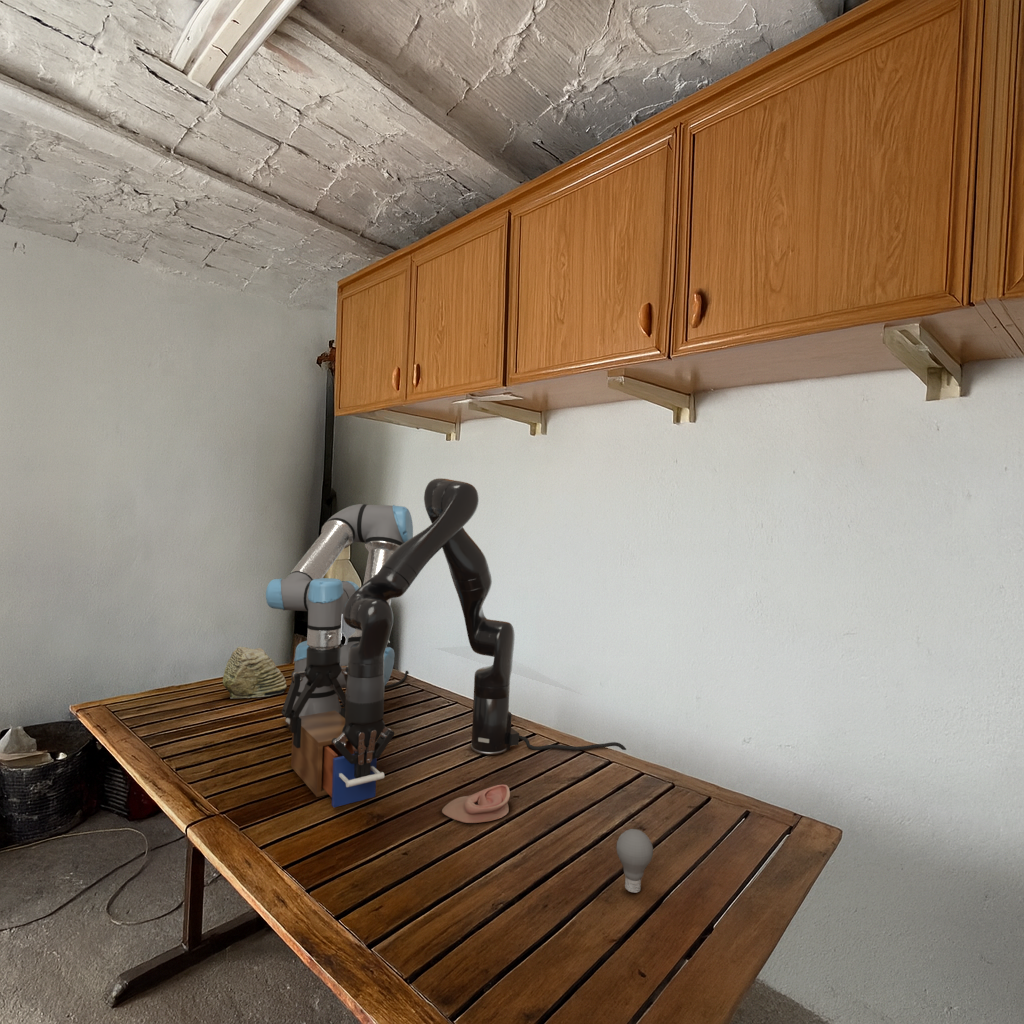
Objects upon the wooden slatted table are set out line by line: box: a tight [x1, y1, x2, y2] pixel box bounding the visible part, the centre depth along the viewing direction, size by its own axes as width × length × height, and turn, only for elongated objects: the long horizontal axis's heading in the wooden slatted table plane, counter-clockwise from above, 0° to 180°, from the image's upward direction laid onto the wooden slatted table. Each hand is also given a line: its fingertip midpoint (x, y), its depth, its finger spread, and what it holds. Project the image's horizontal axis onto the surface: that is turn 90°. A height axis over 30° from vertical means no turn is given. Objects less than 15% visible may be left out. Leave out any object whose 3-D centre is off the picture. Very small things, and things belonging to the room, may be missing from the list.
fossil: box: [222, 646, 288, 699], centre depth 198 cm, size 9×18×15 cm, turn 132°
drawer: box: [322, 741, 385, 808], centre depth 134 cm, size 22×9×10 cm, turn 36°
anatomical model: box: [441, 784, 511, 824], centre depth 131 cm, size 13×4×12 cm
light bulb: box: [615, 828, 654, 894], centre depth 106 cm, size 6×6×10 cm
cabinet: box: [290, 711, 348, 798], centre depth 143 cm, size 18×10×12 cm, turn 36°
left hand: (320, 741), depth 147 cm, fingers closed on cabinet, 10 cm apart
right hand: (362, 780), depth 127 cm, fingers closed
